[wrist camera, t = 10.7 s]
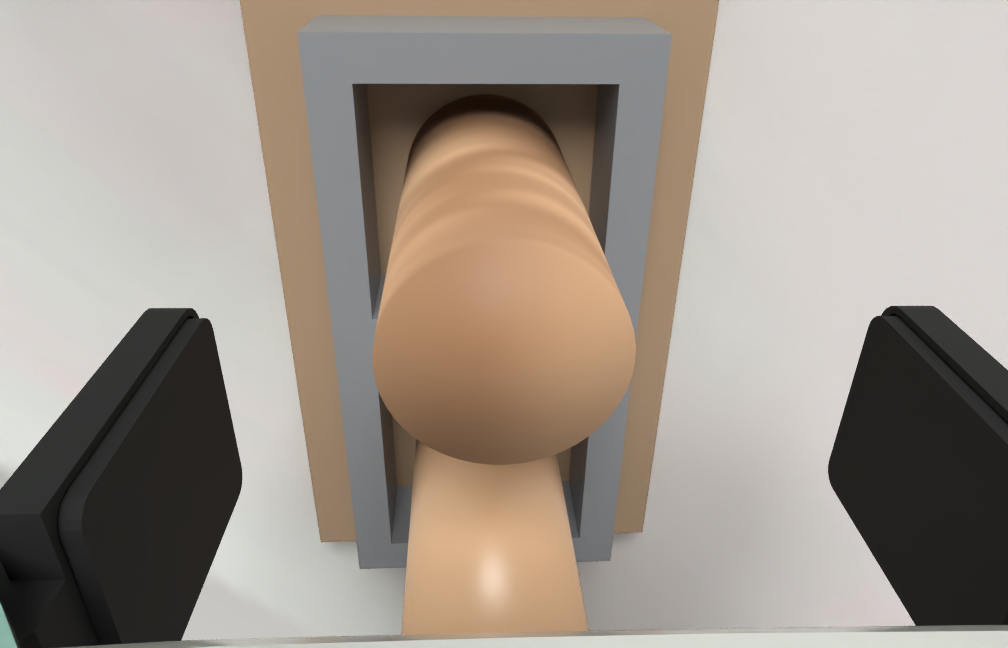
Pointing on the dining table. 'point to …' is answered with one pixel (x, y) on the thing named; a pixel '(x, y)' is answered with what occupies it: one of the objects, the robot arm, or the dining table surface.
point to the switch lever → (497, 294)
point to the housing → (366, 250)
